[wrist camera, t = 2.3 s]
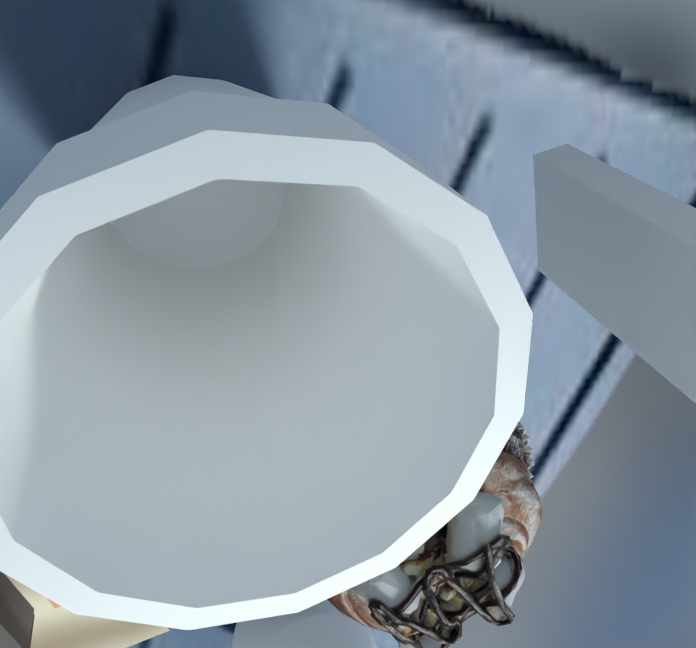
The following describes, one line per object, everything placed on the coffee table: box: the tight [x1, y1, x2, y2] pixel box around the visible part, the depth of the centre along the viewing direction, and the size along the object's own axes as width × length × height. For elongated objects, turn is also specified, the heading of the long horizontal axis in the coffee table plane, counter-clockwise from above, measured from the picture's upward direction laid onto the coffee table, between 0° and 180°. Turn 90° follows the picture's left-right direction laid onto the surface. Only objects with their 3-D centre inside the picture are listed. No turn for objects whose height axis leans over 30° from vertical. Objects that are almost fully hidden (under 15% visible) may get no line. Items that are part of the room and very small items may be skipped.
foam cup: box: [0, 75, 533, 630], centre depth 16 cm, size 10×9×13 cm
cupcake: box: [327, 422, 542, 648], centre depth 24 cm, size 10×10×10 cm
